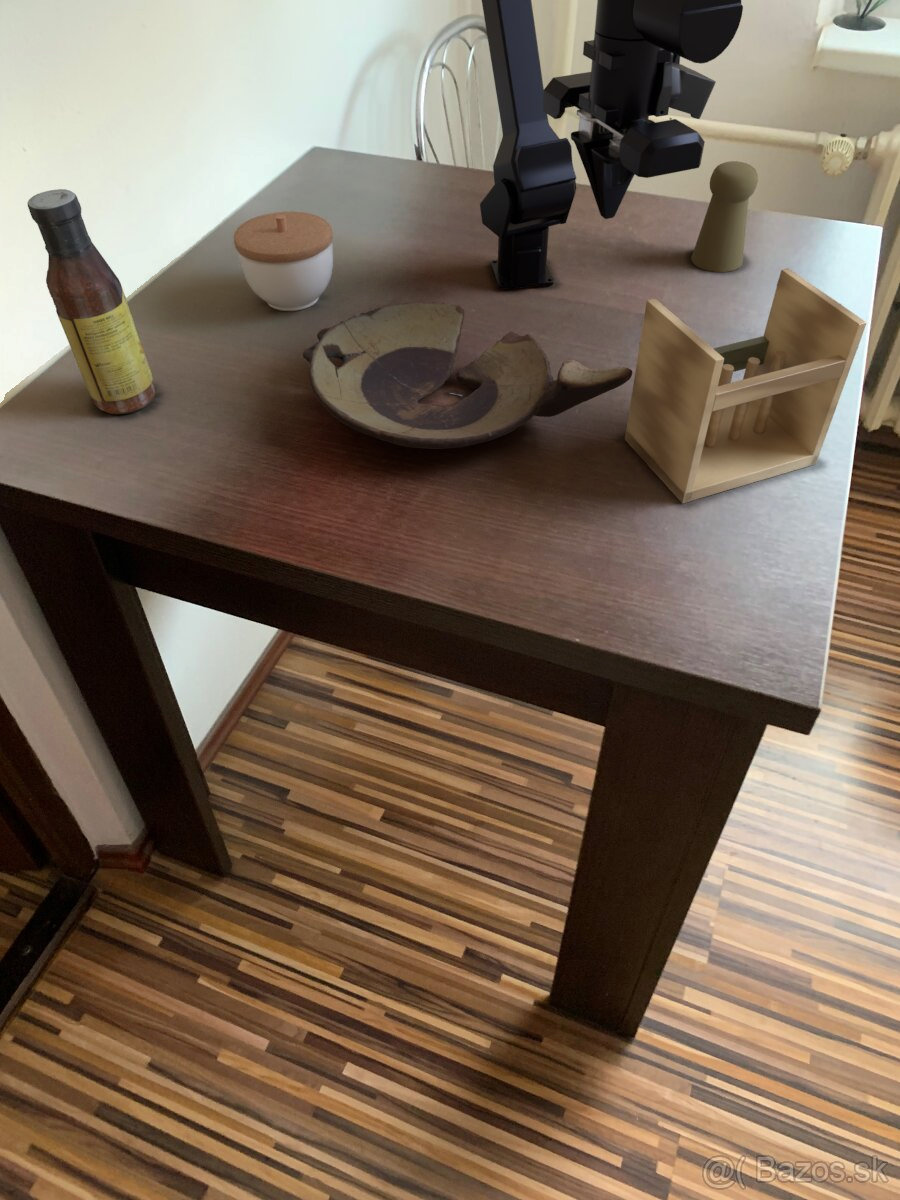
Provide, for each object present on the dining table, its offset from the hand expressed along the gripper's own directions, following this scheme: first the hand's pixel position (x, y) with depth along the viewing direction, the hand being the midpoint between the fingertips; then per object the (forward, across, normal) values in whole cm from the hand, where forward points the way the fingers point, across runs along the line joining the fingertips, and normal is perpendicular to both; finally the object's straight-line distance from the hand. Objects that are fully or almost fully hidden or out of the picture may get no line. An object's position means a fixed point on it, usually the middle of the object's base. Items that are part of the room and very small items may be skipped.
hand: (607, 217), depth 85 cm
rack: (+13, -22, -1) cm, 26 cm away
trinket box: (+13, +22, +27) cm, 37 cm away
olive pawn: (+13, +10, -22) cm, 28 cm away
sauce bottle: (+13, +9, +48) cm, 51 cm away
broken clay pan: (+13, -7, +20) cm, 25 cm away
